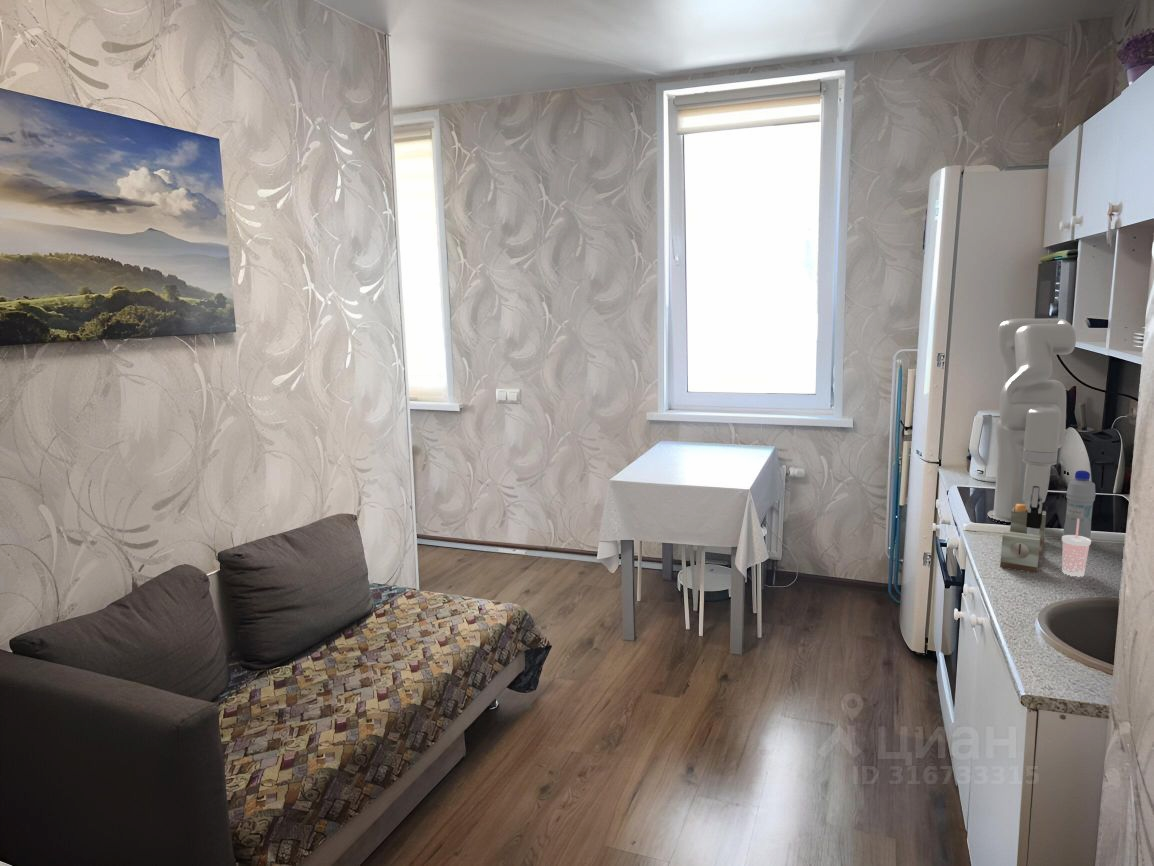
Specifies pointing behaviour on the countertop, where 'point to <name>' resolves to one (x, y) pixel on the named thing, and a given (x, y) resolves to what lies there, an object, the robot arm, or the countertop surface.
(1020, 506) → the button
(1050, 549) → the countertop surface
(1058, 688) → the countertop surface
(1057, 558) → the countertop surface
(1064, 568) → the beverage cup
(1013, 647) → the countertop surface
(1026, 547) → the rail stand
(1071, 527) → the bottle
